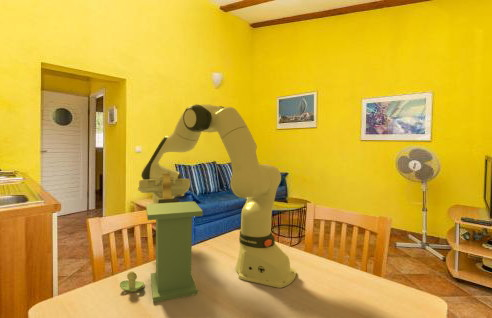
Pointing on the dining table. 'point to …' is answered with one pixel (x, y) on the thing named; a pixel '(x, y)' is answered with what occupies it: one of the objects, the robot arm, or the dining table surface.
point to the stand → (173, 249)
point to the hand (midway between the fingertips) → (166, 178)
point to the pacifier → (131, 283)
